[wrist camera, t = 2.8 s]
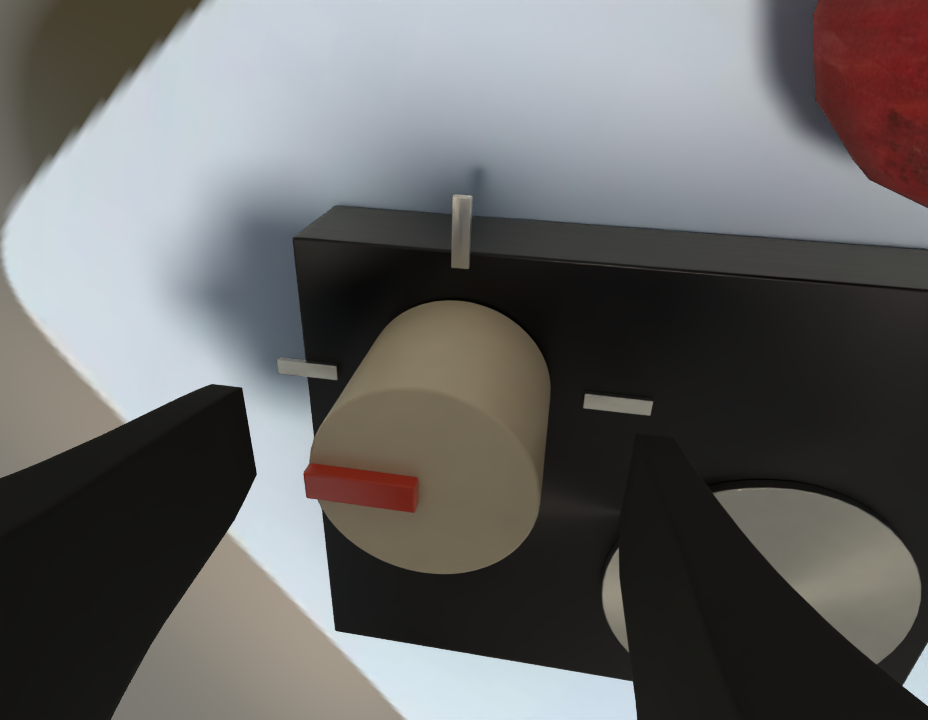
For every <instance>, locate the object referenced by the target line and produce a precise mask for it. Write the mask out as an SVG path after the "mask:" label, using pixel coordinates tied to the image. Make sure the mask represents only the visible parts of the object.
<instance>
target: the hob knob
mask: <svg viewBox="0 0 928 720" xmlns="http://www.w3.org/2000/svg"><path fill="white" fill-rule="evenodd" d="M550 389H551V385H550V377H549V372H548V368H547V365H546V362H545V360H544V358H543V355H542V353H541V352H540V350H539V348H538V347H537V345H536V343H535V342H534V341H533V340H532V339H531V337H530V336H529V335H528V334H527V333H526V332H525V331H524V330H523V329H522V328H521V327H520V326H519V325H518V324H516V323H515V322H514V321H512V320H511V319H509V318H508V317H506V316H505V315H503V314H501V313H499V312H497V311H495V310H493V309H490V308H488V307H486V306H482V305H479V304H475V303H471V302H464V301H450V300H446V301H435V302H430V303H426V304H422V305H419V306H416V307H414V308H411V309H409V310H407V311H405V312H404V313H402V314H400V315H399V316H397V317H396V318H395V319H393V320H392V321H391V322H390V323H389V324H388V325H387V326H386V327H385V328H384V329H383V331H382V332H381V333H380V335H379V336H378V338H377V339H376V341H375V342H374V344H373V345H372V347H371V348H370V350H369V352H368V353H367V355H366V356H365V358H364V359H363V361H362V362H361V364H360V365H359V367H358V369H357V370H356V372H355V373H354V375H353V376H352V378H351V379H350V381H349V382H348V384H347V386H346V387H345V389H344V390H343V392H342V393H341V395H340V396H339V398H338V399H337V401H336V403H335V404H334V406H333V407H332V409H331V410H330V412H329V413H328V415H327V417H326V418H325V420H324V421H323V423H322V424H321V426H320V427H319V429H318V431H317V433H316V435H315V437H314V440H313V444H312V447H311V452H310V460H309V461H310V464H309V465H308V467H307V468H306V470H305V471H304V482H305V490H306V497H307V498H311V499H317V500H318V502H319V504H320V506H321V508H322V509H323V511H324V512H325V514H326V515H327V517H328V518H329V520H330V521H331V522H332V523H333V524H334V525H335V527H336V528H337V529H338V530H339V531H340V532H341V533H342V534H343V535H344V536H345V537H346V538H347V539H349V540H350V541H351V542H353V543H354V544H355V545H357V546H358V547H359V548H361V549H362V550H364V551H366V552H367V553H369V554H371V555H373V556H374V557H376V558H378V559H380V560H382V561H385V562H387V563H390V564H392V565H395V566H398V567H402V568H405V569H408V570H413V571H418V572H424V573H433V574H454V573H464V572H469V571H474V570H478V569H481V568H484V567H487V566H490V565H492V564H494V563H496V562H498V561H500V560H502V559H503V558H505V557H506V556H508V555H510V554H511V553H512V552H513V551H514V550H515V549H517V548H518V547H519V546H520V545H521V543H522V542H523V541H524V540H525V539H526V538H527V536H528V535H529V533H530V531H531V530H532V528H533V526H534V524H535V521H536V519H537V516H538V512H539V507H540V501H541V490H542V480H543V469H544V458H545V447H546V437H547V426H548V415H549V404H550Z"/></svg>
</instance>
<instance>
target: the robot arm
mask: <svg viewBox="0 0 928 720" xmlns="http://www.w3.org/2000/svg"><path fill="white" fill-rule="evenodd" d="M256 475H257V473H256V467H255V461H254V455H253V449H252V443H251V437H250V431H249V425H248V420H247V414H246V408H245V402H244V396H243V390H242V388H241V387H232V386H224V385H215V384H211V385H208V386H206V387H203V388H200V389H198V390H196V391H193V392H191V393H189V394H186V395H184V396H182V397H180V398H178V399H176V400H174V401H171V402H169V403H167V404H165V405H163V406H161V407H159V408H157V409H155V410H153V411H151V412H149V413H147V414H145V415H143V416H140V417H138V418H136V419H134V420H132V421H130V422H128V423H126V424H124V425H122V426H120V427H118V428H116V429H114V430H112V431H109V432H107V433H105V434H103V435H101V436H99V437H97V438H94V439H92V440H90V441H88V442H85V443H83V444H81V445H79V446H76V447H74V448H72V449H70V450H67V451H65V452H63V453H61V454H59V455H56V456H54V457H52V458H50V459H47V460H45V461H43V462H40V463H38V464H35V465H33V466H31V467H28V468H26V469H23V470H21V471H18V472H16V473H13V474H10V475H8V476H5V477H2V478H0V720H111V718H112V716H113V714H114V712H115V710H116V708H117V706H118V704H119V702H120V700H121V698H122V696H123V695H124V692H125V691H126V689H127V687H128V685H129V683H130V682H131V680H132V678H133V676H134V675H135V673H136V671H137V669H138V667H139V665H140V663H141V662H142V660H143V658H144V656H145V654H146V653H147V651H148V649H149V647H150V645H151V644H152V642H153V641H154V639H155V637H156V636H157V634H158V633H159V631H160V629H161V628H162V626H163V624H164V623H165V621H166V620H167V619H168V617H169V616H170V614H171V613H172V611H173V610H174V608H175V607H176V605H177V604H178V602H179V601H180V600H181V598H182V597H183V595H184V594H185V592H186V591H187V589H188V588H189V586H190V585H191V584H192V582H193V581H194V579H195V578H196V576H197V575H198V573H199V572H200V570H201V569H202V568H203V566H204V565H205V563H206V562H207V560H208V559H209V557H210V556H211V554H212V553H213V551H214V550H215V548H216V547H217V545H218V544H219V542H220V541H221V539H222V538H223V537H224V535H225V533H226V532H227V531H228V529H229V527H230V526H231V524H232V523H233V521H234V520H235V518H236V516H237V514H238V512H239V510H240V508H241V506H242V504H243V502H244V500H245V498H246V496H247V494H248V492H249V490H250V488H251V485H252V483H253V481H254V479H255V477H256ZM619 578H620V586H621V594H622V602H623V610H624V618H625V625H626V633H627V640H628V648H629V655H630V663H631V670H632V678H633V685H634V693H635V700H636V710H637V720H928V706H927V705H926V704H924V703H923V702H922V701H921V700H919V699H918V698H917V697H915V696H914V695H913V694H912V693H910V692H909V691H908V690H907V689H905V688H904V687H903V686H902V685H900V684H899V683H898V682H897V681H895V680H894V679H893V678H892V677H891V676H889V675H888V674H887V673H886V672H885V671H884V670H882V669H881V668H880V667H879V666H878V665H876V664H875V663H874V662H873V661H872V660H871V659H869V658H868V657H867V656H866V655H865V654H863V653H862V652H861V651H860V650H859V649H858V648H856V647H855V646H854V645H853V644H852V643H851V642H849V641H848V640H847V639H846V638H845V637H844V636H843V635H842V634H841V633H839V632H838V631H837V630H836V629H835V628H834V627H833V626H832V625H831V624H830V623H828V622H827V621H826V620H825V619H824V618H823V617H822V616H821V615H820V614H819V613H818V612H817V611H816V610H815V609H814V608H813V607H812V606H811V605H810V604H809V603H808V602H807V601H806V600H805V599H804V598H803V597H802V596H801V595H800V594H799V593H798V592H797V591H796V590H795V589H794V588H793V587H792V586H791V585H790V584H789V583H788V582H787V581H786V580H785V579H784V578H783V577H782V576H781V575H780V574H779V573H778V572H777V571H776V570H775V569H774V567H773V566H772V565H771V564H770V563H769V562H768V561H767V560H766V558H765V557H764V556H763V555H762V554H761V553H760V552H759V551H758V549H757V548H756V547H755V546H754V545H753V544H752V542H751V541H750V540H749V539H748V538H747V536H746V535H745V534H744V533H743V532H742V530H741V529H740V528H739V526H738V525H737V524H736V523H735V521H734V520H733V519H732V518H731V516H730V515H729V514H728V512H727V511H726V510H725V509H724V507H723V506H722V505H721V504H720V502H719V501H718V500H717V498H716V497H715V496H714V494H713V493H712V491H711V490H710V489H709V487H708V486H707V485H706V483H705V482H704V480H703V479H702V478H701V476H700V475H699V473H698V472H697V471H696V469H695V468H694V466H693V465H692V463H691V462H690V461H689V459H688V458H687V456H686V455H685V453H684V452H683V450H682V449H681V448H680V446H679V445H678V443H677V442H676V441H675V440H674V438H671V437H663V436H654V435H645V434H637V433H636V438H635V443H634V448H633V453H632V458H631V463H630V468H629V473H628V478H627V484H626V489H625V494H624V499H623V504H622V509H621V514H620V519H619Z"/></svg>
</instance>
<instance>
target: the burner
mask: <svg viewBox="0 0 928 720" xmlns="http://www.w3.org/2000/svg"><path fill="white" fill-rule="evenodd" d="M708 487H709V489H710V490H711V491H712V493H713V494H714V496H715V497H716V498H717V500H718V501H719V502H720V504H721V505H722V506H723V507H724V509H725V510H726V511H727V512H728V514H729V515H730V516H731V518H732V519H733V520H734V521H735V523H736V524H737V525H738V526H739V528H740V529H741V530H742V532H743V533H744V534H745V535H746V536H747V538H748V539H749V540H750V541H751V542H752V544H753V545H754V546H755V547H756V548H757V549H758V551H759V552H760V553H761V554H762V555H763V556H764V557H765V558H766V560H767V561H768V562H769V563H770V564H771V565H772V566H773V567H774V569H775V570H776V571H777V572H778V573H779V574H780V575H781V576H782V577H783V578H784V579H785V580H786V581H787V582H788V583H789V584H790V585H791V586H792V587H793V588H794V589H795V590H796V591H797V592H798V593H799V594H800V595H801V596H802V597H803V598H804V599H805V600H806V601H807V602H808V603H809V604H810V605H811V606H812V607H813V608H814V609H815V610H816V611H817V612H818V613H819V614H820V615H821V616H822V617H823V618H824V619H825V620H826V621H827V622H828V623H830V624H831V625H832V626H833V627H834V628H835V629H836V630H837V631H838V632H839V633H841V634H842V635H843V636H844V637H845V638H846V639H847V640H848V641H849V642H851V643H852V644H853V645H854V646H855V647H856V648H858V649H859V650H860V651H861V652H862V653H863V654H865V655H866V656H867V657H868V658H869V659H871V660H872V661H873V662H874V663H875V664H878V663H879V662H880V661H882V660H883V659H884V658H885V657H887V656H888V655H889V654H890V653H891V652H892V651H893V650H894V649H895V648H896V647H897V646H898V645H899V644H900V643H901V642H902V641H903V639H904V638H905V636H906V635H907V633H908V632H909V631H910V629H911V628H912V625H913V623H914V621H915V619H916V616H917V614H918V610H919V606H920V601H921V581H920V576H919V570H918V567H917V565H916V563H915V560H914V558H913V556H912V554H911V552H910V551H909V549H908V547H907V546H906V544H905V543H904V541H903V540H902V538H901V537H900V535H899V534H898V533H897V532H896V531H895V530H894V529H893V528H892V527H891V525H890V524H889V523H888V522H887V521H886V520H884V519H883V518H882V517H880V516H879V515H878V514H876V513H875V512H874V511H872V510H871V509H869V508H868V507H866V506H864V505H862V504H861V503H859V502H857V501H855V500H853V499H851V498H849V497H846V496H844V495H842V494H839V493H837V492H834V491H831V490H828V489H824V488H821V487H817V486H814V485H809V484H803V483H797V482H792V481H780V480H742V481H733V482H725V483H719V484H715V485H710V486H708ZM601 596H602V606H603V610H604V613H605V617H606V620H607V622H608V624H609V626H610V628H611V630H612V632H613V633H614V635H615V636H616V638H617V639H618V641H619V642H620V643H621V645H622V646H623V647H624V648H625V649H626V650H627V651H628V652H629V648H628V640H627V633H626V625H625V618H624V610H623V602H622V594H621V586H620V578H619V539H618V540H617V542H616V543H615V544H614V546H613V547H612V549H611V551H610V553H609V555H608V557H607V559H606V562H605V566H604V569H603V573H602V582H601Z"/></svg>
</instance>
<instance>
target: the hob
mask: <svg viewBox="0 0 928 720" xmlns="http://www.w3.org/2000/svg"><path fill="white" fill-rule="evenodd" d="M472 202H473V196H471V195H457V194H454V195H453V197H452V215H451V214H438V213H425V212H411V211H398V210H385V209H371V208H358V207H345V206H334V207H333V208H331V209H330V210H329V211H327V212H326V213H325V214H323V215H322V216H321V217H319V218H318V219H317V220H315V221H314V222H313V223H311V224H310V225H309V226H307V227H306V228H305V229H304V230H302V231H301V232H300V233H298V234H297V235H296V236H294V237H293V247H294V257H295V266H296V275H297V284H298V293H299V302H300V312H301V321H302V330H303V339H304V348H305V358H306V360H303V359H294V358H285V357H279V358H278V359H277V367H278V373H279V374H287V375H296V376H305V377H308V385H309V394H310V404H311V413H312V422H313V431H314V437H315V435H316V433H317V431H318V429H319V427H320V426H321V424H322V423H323V421H324V420H325V418H326V417H327V415H328V413H329V412H330V410H331V409H332V407H333V406H334V404H335V403H336V401H337V399H338V398H339V396H340V395H341V393H342V392H343V390H344V389H345V387H346V386H347V384H348V382H349V381H350V379H351V378H352V376H353V375H354V373H355V372H356V370H357V369H358V367H359V365H360V364H361V362H362V361H363V359H364V358H365V356H366V355H367V353H368V352H369V350H370V348H371V347H372V345H373V344H374V342H375V341H376V339H377V338H378V336H379V335H380V333H381V332H382V331H383V329H384V328H385V327H386V326H387V325H388V324H389V323H390V322H391V321H392V320H393V319H395V318H396V317H397V316H399V315H400V314H402V313H404V312H405V311H407V310H409V309H411V308H414V307H416V306H419V305H422V304H426V303H430V302H435V301H446V300H450V301H464V302H471V303H475V304H479V305H482V306H486V307H488V308H490V309H493V310H495V311H497V312H499V313H501V314H503V315H505V316H506V317H508V318H509V319H511V320H512V321H514V322H515V323H516V324H518V325H519V326H520V327H521V328H522V329H523V330H524V331H525V332H526V333H527V334H528V335H529V336H530V337H531V339H532V340H533V341H534V342H535V343H536V345H537V347H538V348H539V350H540V352H541V353H542V355H543V358H544V360H545V362H546V365H547V368H548V372H549V377H550V385H551V389H550V404H549V415H548V426H547V437H546V447H545V458H544V469H543V480H542V490H541V501H540V507H539V512H538V516H537V519H536V521H535V524H534V526H533V528H532V530H531V531H530V533H529V535H528V536H527V538H526V539H525V540H524V541H523V542H522V543H521V545H520V546H519V547H518V548H517V549H515V550H514V551H513V552H512V553H511V554H510V555H508V556H506V557H505V558H503V559H502V560H500V561H498V562H496V563H494V564H492V565H490V566H487V567H484V568H481V569H478V570H474V571H469V572H464V573H454V574H433V573H424V572H418V571H413V570H408V569H405V568H402V567H398V566H395V565H392V564H390V563H387V562H385V561H382V560H380V559H378V558H376V557H374V556H373V555H371V554H369V553H367V552H366V551H364V550H362V549H361V548H359V547H358V546H357V545H355V544H354V543H353V542H351V541H350V540H349V539H347V538H346V537H345V536H344V535H343V534H342V533H341V532H340V531H339V530H338V529H337V528H336V527H335V525H334V524H333V523H332V522H331V521H330V520H329V518H328V517H327V515H326V514H325V512H324V511H323V509H322V514H323V523H324V532H325V541H326V551H327V560H328V569H329V578H330V587H331V597H332V606H333V615H334V624H335V630H336V631H339V632H345V633H351V634H357V635H363V636H369V637H374V638H380V639H386V640H392V641H398V642H404V643H410V644H416V645H422V646H428V647H433V648H439V649H445V650H451V651H457V652H463V653H469V654H475V655H481V656H486V657H492V658H498V659H504V660H510V661H516V662H522V663H528V664H534V665H540V666H545V667H551V668H557V669H563V670H569V671H575V672H581V673H587V674H593V675H599V676H604V677H610V678H616V679H622V680H628V681H633V678H632V670H631V663H630V655H629V652H628V651H627V650H626V649H625V648H624V647H623V646H622V645H621V643H620V642H619V641H618V639H617V638H616V636H615V635H614V633H613V632H612V630H611V628H610V626H609V624H608V622H607V620H606V617H605V613H604V610H603V606H602V596H601V582H602V573H603V569H604V566H605V562H606V559H607V557H608V555H609V553H610V551H611V549H612V547H613V546H614V544H615V543H616V542H617V540H618V539H619V519H620V514H621V509H622V504H623V499H624V494H625V489H626V484H627V478H628V473H629V468H630V463H631V458H632V453H633V448H634V443H635V438H636V433H637V434H645V435H654V436H663V437H671V438H674V440H675V441H676V442H677V443H678V445H679V446H680V448H681V449H682V450H683V452H684V453H685V455H686V456H687V458H688V459H689V461H690V462H691V463H692V465H693V466H694V468H695V469H696V471H697V472H698V473H699V475H700V476H701V478H702V479H703V480H704V482H705V483H706V485H707V486H710V485H715V484H719V483H725V482H733V481H742V480H780V481H792V482H797V483H803V484H809V485H814V486H817V487H821V488H824V489H828V490H831V491H834V492H837V493H839V494H842V495H844V496H846V497H849V498H851V499H853V500H855V501H857V502H859V503H861V504H862V505H864V506H866V507H868V508H869V509H871V510H872V511H874V512H875V513H876V514H878V515H879V516H880V517H882V518H883V519H884V520H886V521H887V522H888V523H889V524H890V525H891V527H892V528H893V529H894V530H895V531H896V532H897V533H898V534H899V535H900V537H901V538H902V540H903V541H904V543H905V544H906V546H907V547H908V549H909V551H910V552H911V554H912V556H913V558H914V560H915V563H916V565H917V567H918V570H919V576H920V581H921V601H920V606H919V610H918V614H917V616H916V619H915V621H914V623H913V625H912V628H911V629H910V631H909V632H908V633H907V635H906V636H905V638H904V639H903V641H902V642H901V643H900V644H899V645H898V646H897V647H896V648H895V649H894V650H893V651H892V652H891V653H890V654H889V655H888V656H887V657H885V658H884V659H883V660H882V661H880V662H879V663H878V664H876V665H878V666H879V667H880V668H881V669H882V670H884V671H885V672H886V673H887V674H888V675H889V676H891V677H892V678H893V679H894V680H895V681H897V682H898V683H899V684H900V685H902V686H903V684H904V682H905V681H906V679H907V677H908V675H909V674H910V672H911V670H912V669H913V667H914V665H915V664H916V662H917V660H918V658H919V657H920V655H921V653H922V652H923V650H924V648H925V647H926V645H927V643H928V250H918V249H904V248H891V247H878V246H864V245H851V244H838V243H824V242H811V241H798V240H784V239H771V238H758V237H744V236H731V235H718V234H704V233H691V232H678V231H664V230H651V229H638V228H624V227H611V226H598V225H585V224H571V223H558V222H545V221H531V220H518V219H505V218H491V217H478V216H472Z"/></svg>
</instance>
